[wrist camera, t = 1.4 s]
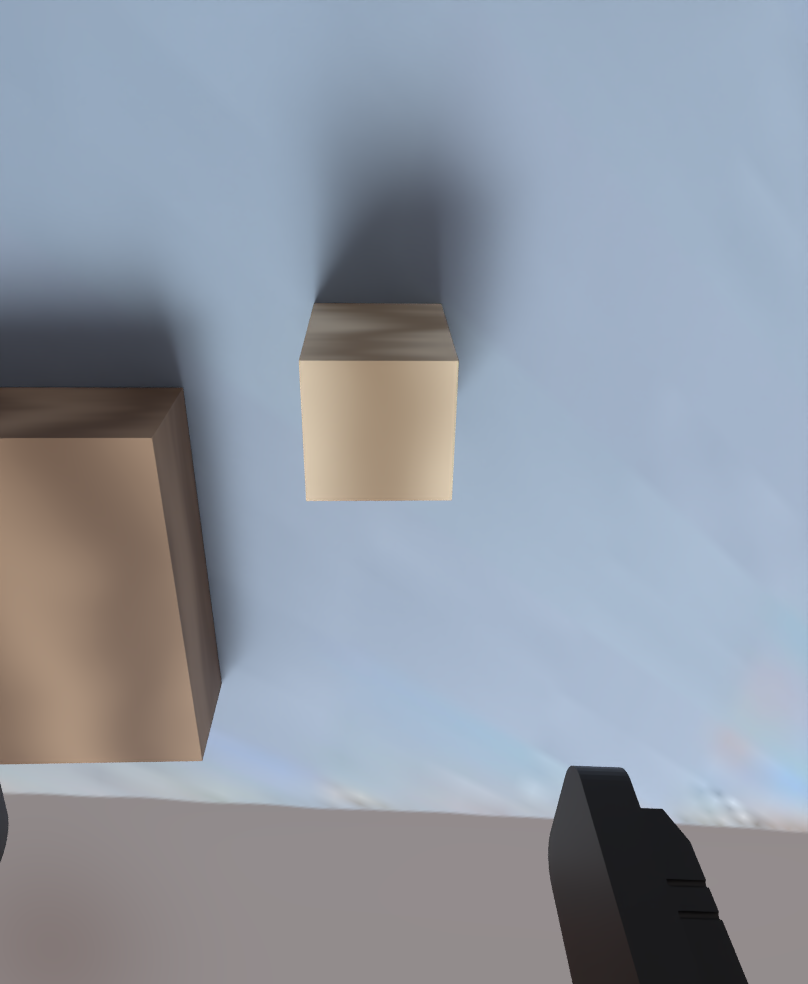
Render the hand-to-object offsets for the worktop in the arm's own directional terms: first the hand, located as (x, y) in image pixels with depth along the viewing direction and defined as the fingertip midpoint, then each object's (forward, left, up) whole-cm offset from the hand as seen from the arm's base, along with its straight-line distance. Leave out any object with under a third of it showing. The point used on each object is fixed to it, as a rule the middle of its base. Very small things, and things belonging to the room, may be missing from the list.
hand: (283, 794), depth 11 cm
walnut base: (+16, +10, -22) cm, 29 cm away
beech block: (-1, +1, -22) cm, 22 cm away
